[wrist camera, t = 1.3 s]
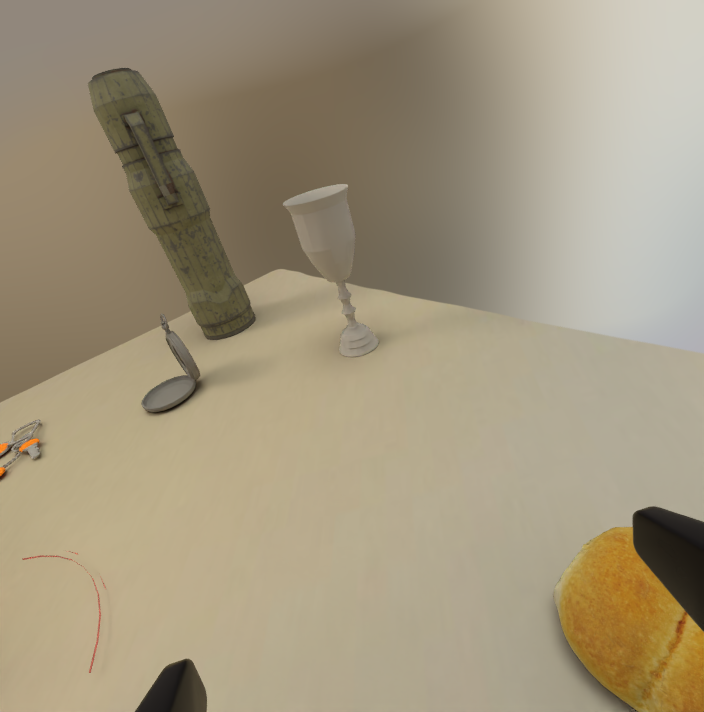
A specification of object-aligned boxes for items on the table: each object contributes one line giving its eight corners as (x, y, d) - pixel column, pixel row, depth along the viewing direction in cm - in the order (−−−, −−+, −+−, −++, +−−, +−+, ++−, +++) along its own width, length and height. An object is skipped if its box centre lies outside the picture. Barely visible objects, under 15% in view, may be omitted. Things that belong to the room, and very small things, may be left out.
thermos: (244, 306, 71) (143, 78, 53) (266, 323, 62) (154, 53, 44) (197, 327, 68) (74, 93, 50) (214, 349, 59) (70, 69, 41)
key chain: (-11, 445, 51) (-16, 440, 50) (50, 416, 53) (46, 412, 53) (-39, 508, 41) (-46, 503, 40) (38, 469, 43) (33, 464, 43)
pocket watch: (134, 414, 48) (86, 346, 43) (178, 373, 55) (140, 310, 50) (184, 415, 45) (138, 342, 40) (225, 372, 51) (190, 304, 46)
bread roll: (794, 856, 13) (841, 830, 11) (531, 636, 19) (529, 594, 17) (844, 646, 16) (885, 597, 14) (607, 522, 23) (613, 476, 21)
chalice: (324, 345, 51) (275, 202, 42) (370, 324, 52) (332, 183, 43) (345, 369, 45) (293, 208, 35) (396, 345, 46) (359, 185, 37)
